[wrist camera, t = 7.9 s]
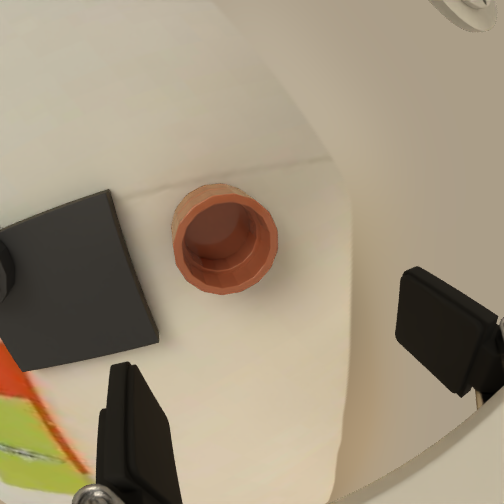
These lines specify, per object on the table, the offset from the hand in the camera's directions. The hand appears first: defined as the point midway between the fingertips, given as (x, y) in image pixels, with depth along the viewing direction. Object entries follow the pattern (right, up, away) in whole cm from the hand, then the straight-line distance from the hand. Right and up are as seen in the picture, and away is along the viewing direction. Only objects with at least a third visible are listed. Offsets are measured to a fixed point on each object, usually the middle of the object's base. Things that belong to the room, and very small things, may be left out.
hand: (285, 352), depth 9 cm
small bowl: (-4, +5, +12) cm, 14 cm away
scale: (-16, 0, +11) cm, 19 cm away
